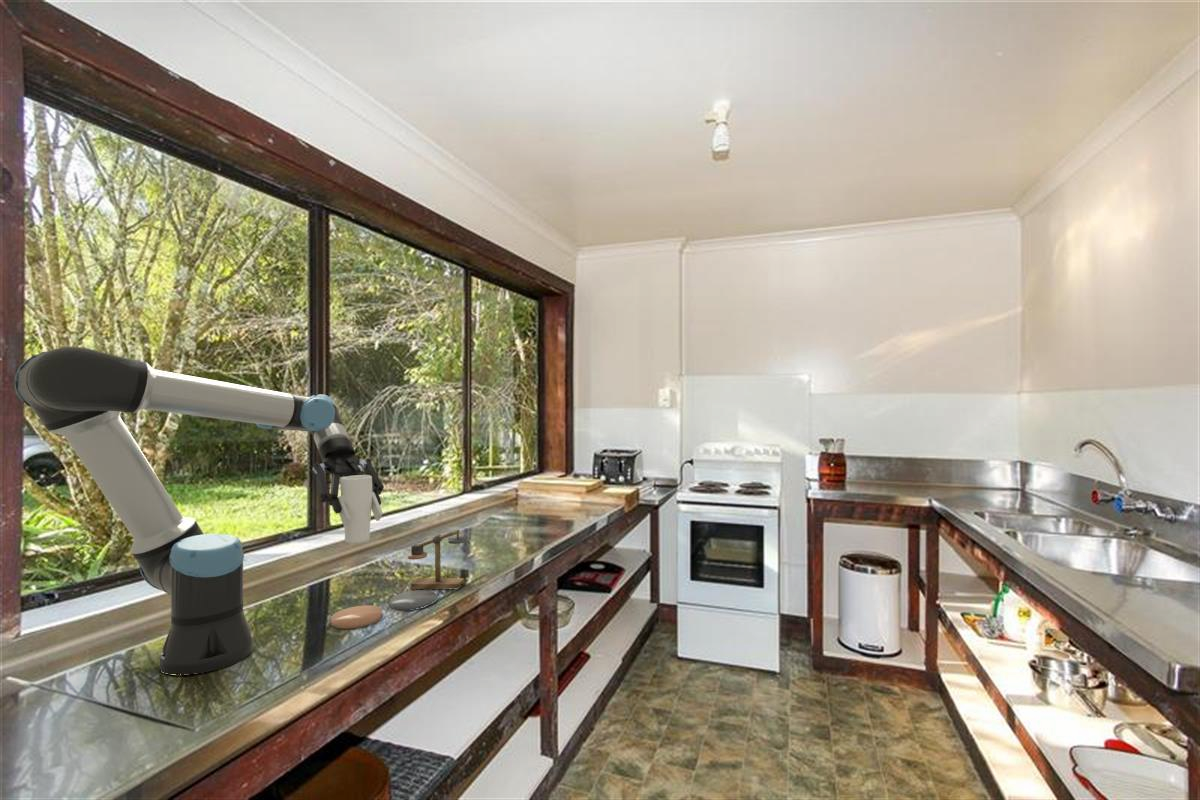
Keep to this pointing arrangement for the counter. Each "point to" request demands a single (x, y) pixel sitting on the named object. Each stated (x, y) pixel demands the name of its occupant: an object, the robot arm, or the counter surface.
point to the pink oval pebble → (356, 617)
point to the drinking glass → (357, 506)
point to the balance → (436, 563)
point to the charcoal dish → (412, 599)
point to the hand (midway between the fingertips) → (363, 519)
